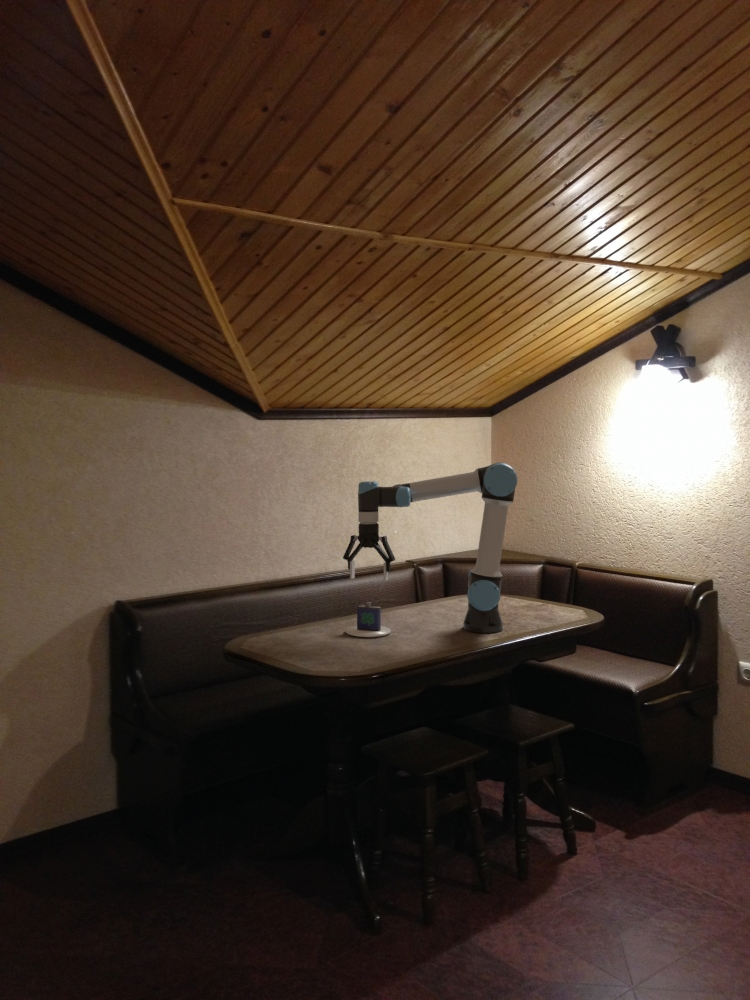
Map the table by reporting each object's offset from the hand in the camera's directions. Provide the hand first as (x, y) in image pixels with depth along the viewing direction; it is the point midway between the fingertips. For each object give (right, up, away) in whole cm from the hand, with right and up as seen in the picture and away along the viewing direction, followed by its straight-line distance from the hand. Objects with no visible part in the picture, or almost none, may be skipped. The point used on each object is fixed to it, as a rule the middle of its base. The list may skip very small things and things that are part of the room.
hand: (369, 579), depth 309 cm
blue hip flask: (0, -20, +1) cm, 20 cm away
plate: (0, -20, +1) cm, 21 cm away
